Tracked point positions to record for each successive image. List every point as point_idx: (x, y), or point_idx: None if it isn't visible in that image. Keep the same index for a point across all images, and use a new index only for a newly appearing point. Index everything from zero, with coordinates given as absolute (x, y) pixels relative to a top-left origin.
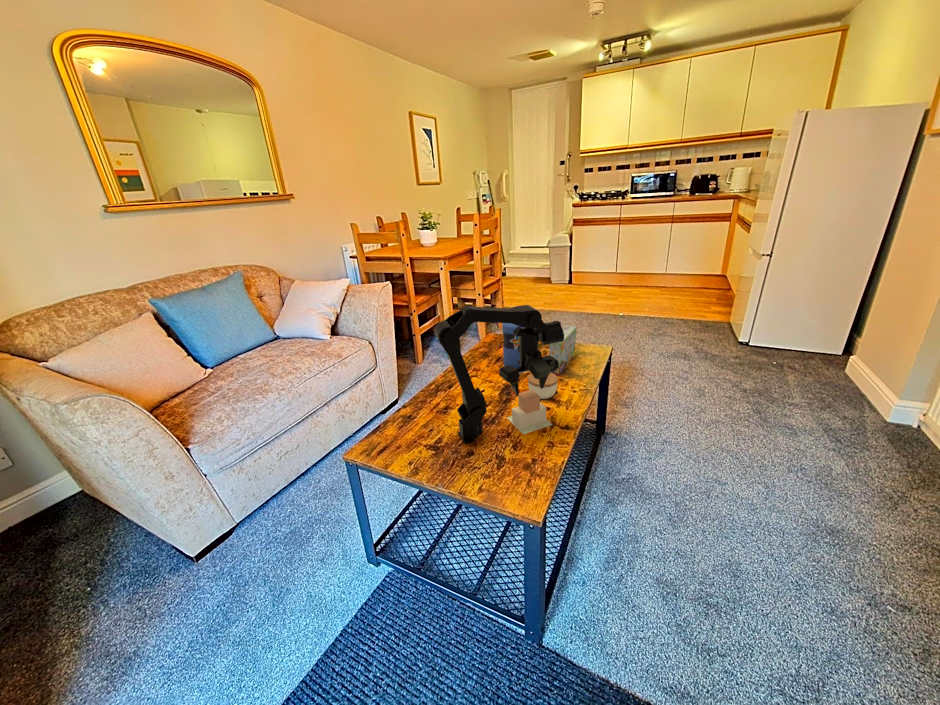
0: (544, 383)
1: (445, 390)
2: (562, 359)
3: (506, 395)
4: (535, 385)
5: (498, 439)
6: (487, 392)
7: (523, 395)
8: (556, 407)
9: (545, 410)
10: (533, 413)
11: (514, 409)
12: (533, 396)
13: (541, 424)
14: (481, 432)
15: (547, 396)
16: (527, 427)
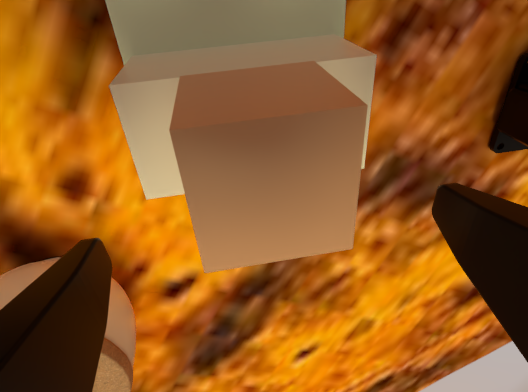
0: (28, 294)
1: (407, 370)
2: None
3: (235, 319)
4: (104, 340)
5: (470, 9)
6: (293, 345)
7: (334, 204)
8: (15, 183)
9: (122, 77)
10: (242, 64)
11: None
12: (249, 151)
13: (181, 22)
14: (521, 89)
15: (46, 264)
16: (283, 30)
